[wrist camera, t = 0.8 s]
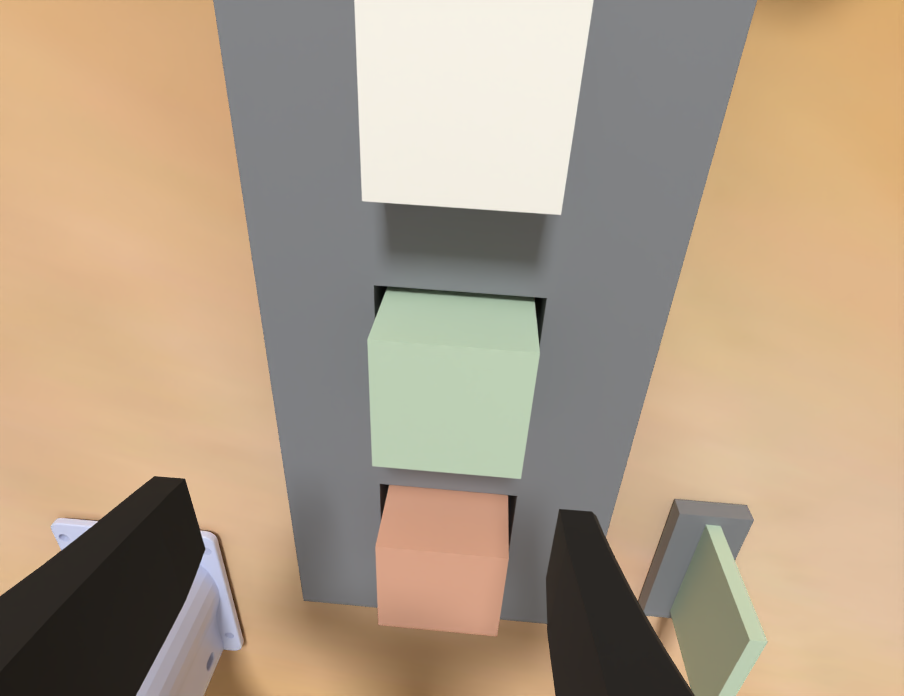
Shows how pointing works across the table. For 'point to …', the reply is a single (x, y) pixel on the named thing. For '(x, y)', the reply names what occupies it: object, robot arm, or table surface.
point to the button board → (469, 266)
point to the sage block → (452, 381)
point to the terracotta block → (442, 560)
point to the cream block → (469, 100)
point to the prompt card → (706, 594)
